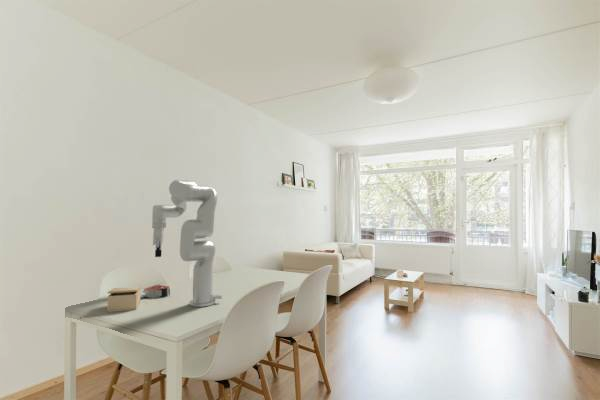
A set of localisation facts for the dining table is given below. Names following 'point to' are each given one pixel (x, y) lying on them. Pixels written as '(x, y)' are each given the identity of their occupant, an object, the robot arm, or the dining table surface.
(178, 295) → the dining table surface
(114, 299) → the box
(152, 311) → the dining table surface
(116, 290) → the lid
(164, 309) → the dining table surface
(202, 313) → the dining table surface
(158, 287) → the tape dispenser
